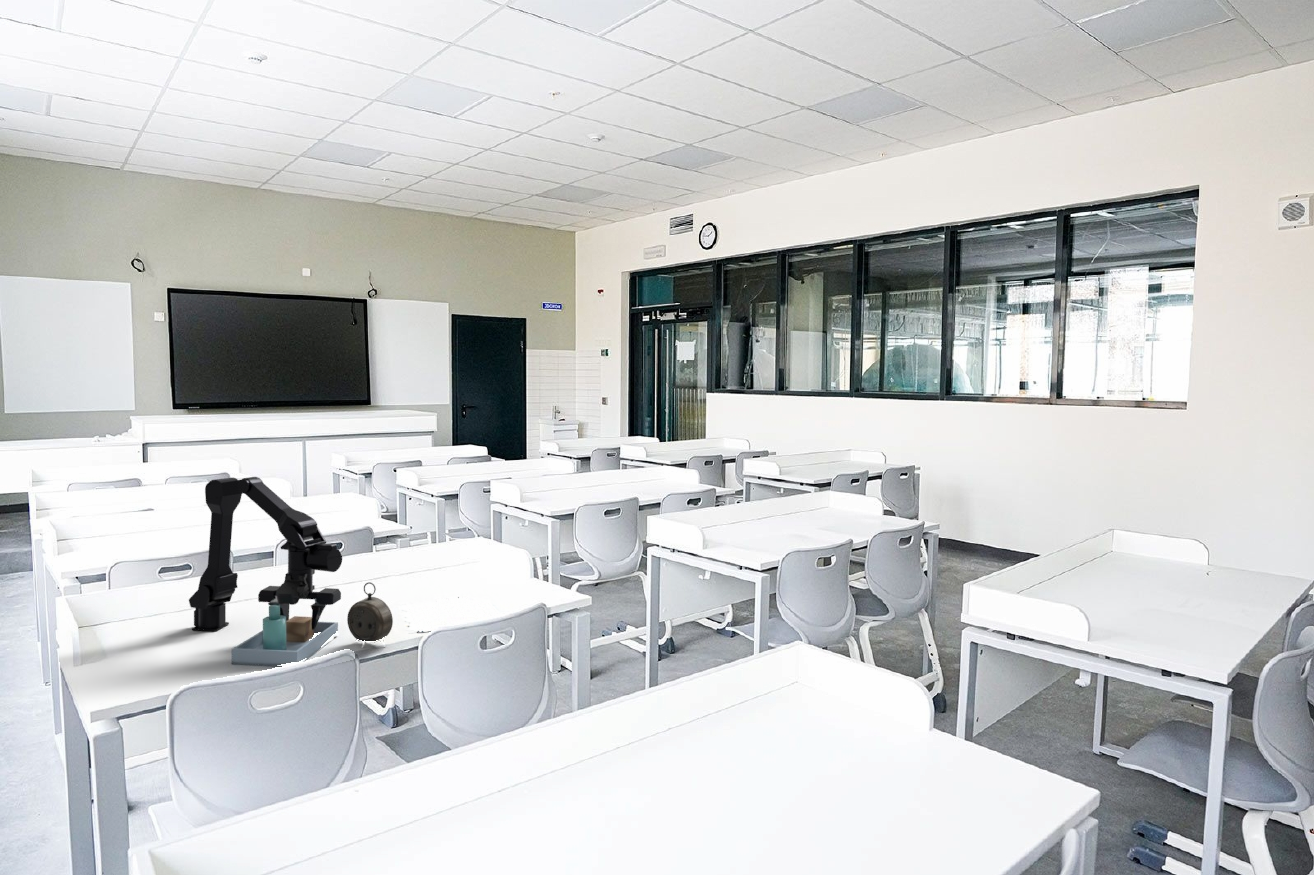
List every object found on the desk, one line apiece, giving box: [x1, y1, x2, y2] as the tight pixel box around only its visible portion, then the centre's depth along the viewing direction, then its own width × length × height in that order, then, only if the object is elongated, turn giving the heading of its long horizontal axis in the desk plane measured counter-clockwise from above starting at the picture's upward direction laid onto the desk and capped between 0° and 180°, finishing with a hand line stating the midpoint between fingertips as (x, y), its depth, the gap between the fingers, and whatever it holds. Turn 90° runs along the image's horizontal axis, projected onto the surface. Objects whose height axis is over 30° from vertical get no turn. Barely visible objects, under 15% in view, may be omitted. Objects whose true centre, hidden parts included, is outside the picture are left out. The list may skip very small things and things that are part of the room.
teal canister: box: [262, 605, 286, 650], centre depth 193 cm, size 5×5×12 cm
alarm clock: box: [346, 581, 394, 642], centre depth 204 cm, size 11×5×16 cm, turn 71°
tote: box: [231, 621, 339, 667], centre depth 200 cm, size 15×23×4 cm, turn 179°
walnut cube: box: [286, 615, 314, 643], centre depth 206 cm, size 5×5×5 cm
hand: (299, 628), depth 206 cm, fingers open, 7 cm apart
